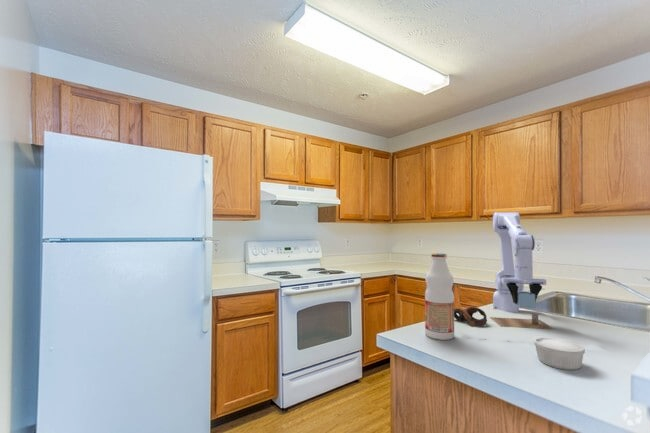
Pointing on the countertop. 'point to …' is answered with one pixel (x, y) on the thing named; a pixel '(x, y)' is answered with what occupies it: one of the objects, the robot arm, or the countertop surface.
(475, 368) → the countertop surface
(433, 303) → the fruit juice
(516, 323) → the stub board
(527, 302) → the collar
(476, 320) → the brown curled shape
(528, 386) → the countertop surface
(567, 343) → the ramekin
